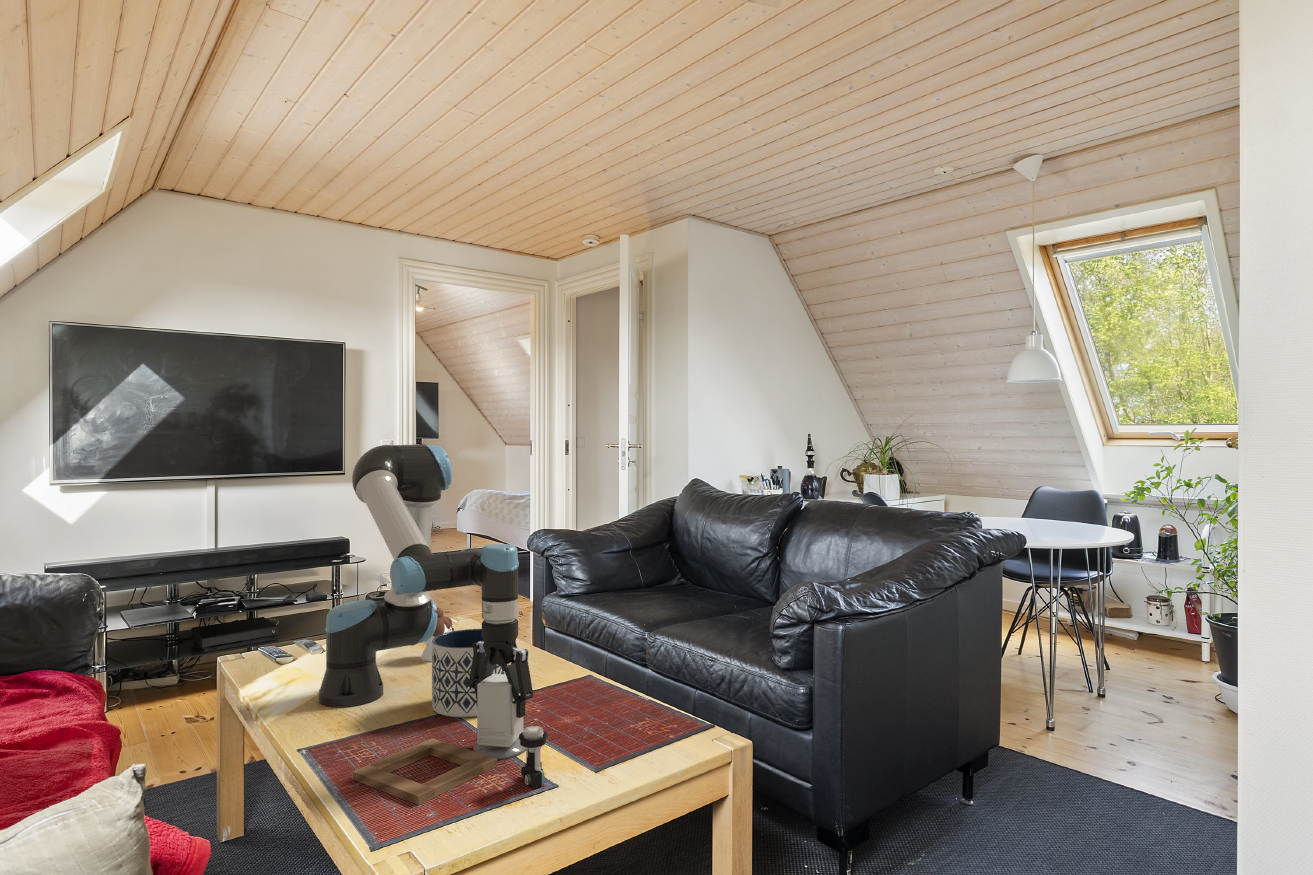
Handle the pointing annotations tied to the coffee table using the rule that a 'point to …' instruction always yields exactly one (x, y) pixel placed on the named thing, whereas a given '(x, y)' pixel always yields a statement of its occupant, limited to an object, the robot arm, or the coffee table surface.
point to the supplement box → (495, 712)
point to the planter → (455, 673)
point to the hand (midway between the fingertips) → (500, 727)
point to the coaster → (501, 750)
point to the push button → (533, 755)
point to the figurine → (442, 627)
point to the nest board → (420, 793)
